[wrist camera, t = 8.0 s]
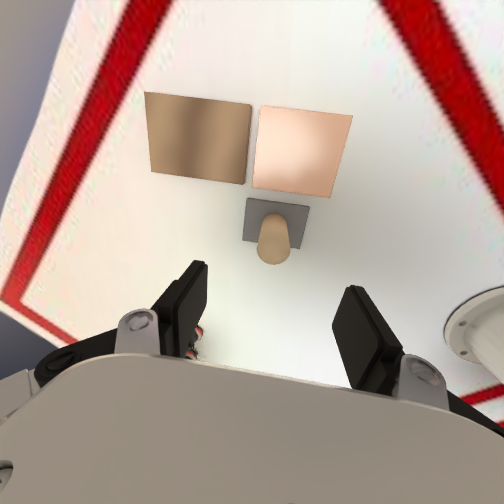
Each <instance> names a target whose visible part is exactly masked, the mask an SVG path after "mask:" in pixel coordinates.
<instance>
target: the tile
mask: <svg viewBox="0 0 504 504" xmlns="http://www.w3.org/2000/svg"><path fill="white" fill-rule="evenodd" d="M352 117H353V116H351V115H342V114H333V113H324V112H316V111H307V110H298V109H289V108H280V107H272V106H263V105H261V109H260V118H259V127H258V136H257V146H256V155H255V164H254V173H253V183H252V187H253V188H260V189H268V190H275V191H283V192H290V193H298V194H305V195H313V196H320V197H328V198H330V197H331V193H332V189H333V186H334V182H335V179H336V175H337V171H338V168H339V164H340V161H341V157H342V153H343V150H344V146H345V142H346V139H347V135H348V132H349V128H350V124H351V121H352Z"/></svg>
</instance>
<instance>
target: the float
mask: <svg viewBox="0 0 504 504" xmlns="http://www.w3.org/2000/svg"><path fill="white" fill-rule="evenodd" d="M309 209H310V207H309V206H303V205H296V204H289V203H282V202H275V201H268V200H261V199H254V198H247V200H246V210H245V219H244V228H243V238H242V240H244V241H251V242H257V243H258V245H257V253H258V256H259V257H260V259H261V260H262V261H264V262H265V263H268V264H280V263H282V262H284V261H285V260H286V259H287V258H288V256H289V254H290V248H296V249H300V246H301V242H302V238H303V234H304V230H305V225H306V221H307V217H308V213H309Z"/></svg>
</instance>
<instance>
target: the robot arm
mask: <svg viewBox="0 0 504 504" xmlns="http://www.w3.org/2000/svg"><path fill="white" fill-rule="evenodd" d="M207 274H208V265H207V264H205V262H204V261H198V260H194V261H193V262H192V263H191V264H190V266H189V267H188V268H187V269H186V271H185V272H184V273H183V274H182V276H181V277H180V278H179V280H174V281H173V282H172V283H171V284H170V286H169V287H168V288H167V289H166V290H165V292H164V293H163V294H162V295H161V296H160V298H159V299H158V300H157V301H156V302H155V304H154V305H153V306H152V307H151V308H150V309H137V310H133V311H131V312H129V313H127V314H126V315H124V316H123V317H122V318H121V320H120V321H119V324H118V328H116V329H113V330H110V331H107V332H104V333H102V334H99V335H96V336H93V337H90V338H87V339H85V340H82V341H79V342H76V343H73V344H70V345H68V346H65V347H62V348H60V349H58V350H55V351H53V352H52V353H50V354H48V355H47V356H46V357H45V358H43V359H42V360H41V361H40V362H39V363H38V365H37V366H36V368H35V369H33V370H31V371H29V372H28V371H27V369H25V370H22V371H20V372H18V373H16V374H14V375H11V376H9V377H7V378H5V379H2V380H0V504H504V428H502V427H501V426H499V425H498V424H496V423H495V422H494V421H492V420H491V419H489V418H488V417H486V416H485V415H483V414H482V413H480V412H479V411H477V410H476V409H474V408H473V407H472V406H470V405H469V404H467V403H466V402H464V401H463V400H461V399H460V398H458V397H457V396H455V395H454V394H452V393H451V392H450V391H448V390H447V388H446V382H445V379H444V377H443V376H442V374H441V373H440V372H439V371H438V369H437V368H436V367H434V366H433V365H432V364H431V363H429V362H428V361H426V360H424V359H423V358H421V357H418V356H416V355H412V354H405V353H404V351H403V350H402V349H403V346H402V345H401V343H400V342H399V340H398V339H397V337H396V336H395V334H394V333H393V331H392V330H391V328H390V327H389V325H388V324H387V322H386V321H385V319H384V318H383V316H382V315H381V313H380V312H379V310H378V309H377V307H376V306H375V304H374V303H373V301H372V300H371V298H370V297H369V295H368V294H367V292H366V291H365V289H364V288H363V287H361V286H355V285H350V287H347V288H346V289H345V292H344V294H343V297H342V300H341V302H340V305H339V307H338V310H337V312H336V315H335V317H334V320H333V323H332V330H333V333H334V336H335V339H336V342H337V345H338V348H339V352H340V355H341V358H342V361H343V364H344V367H345V370H346V373H347V376H348V379H349V382H350V385H351V387H352V389H350V388H345V387H339V386H334V385H329V384H323V383H318V382H313V381H307V380H302V379H296V378H291V377H286V376H280V375H275V374H269V373H264V372H258V371H253V370H247V369H241V368H236V367H230V366H224V365H219V364H213V363H207V362H202V361H196V360H190V359H184V358H178V357H182V356H183V354H184V352H185V350H186V348H187V345H188V343H189V341H190V339H191V337H192V335H193V333H194V331H195V328H196V326H197V324H198V322H199V320H200V318H201V316H202V314H203V311H204V309H205V307H206V303H207ZM445 340H446V342H447V345H448V346H449V347H450V348H451V349H452V351H453V352H454V353H455V354H456V355H458V356H459V357H461V358H463V359H464V360H467V361H470V362H473V363H479V364H484V366H485V367H486V368H487V369H488V370H489V371H490V372H491V373H492V374H493V375H494V376H495V377H496V378H497V379H498V380H499V381H500V382H501V383H502V384H503V385H504V287H502V288H498V289H494V290H491V291H488V292H486V293H483V294H481V295H479V296H477V297H475V298H473V299H471V300H469V301H468V302H467V303H465V304H464V305H462V306H461V307H460V308H459V309H458V310H457V311H456V312H455V313H454V314H453V315H452V316H451V318H450V319H449V321H448V323H447V325H446V328H445Z"/></svg>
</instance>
